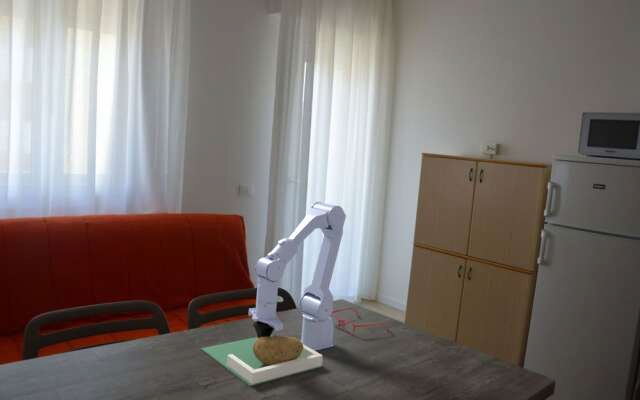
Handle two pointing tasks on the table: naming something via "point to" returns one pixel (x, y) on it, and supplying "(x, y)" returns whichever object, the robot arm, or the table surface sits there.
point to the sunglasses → (351, 322)
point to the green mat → (240, 356)
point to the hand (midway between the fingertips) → (263, 347)
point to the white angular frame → (275, 366)
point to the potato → (277, 349)
